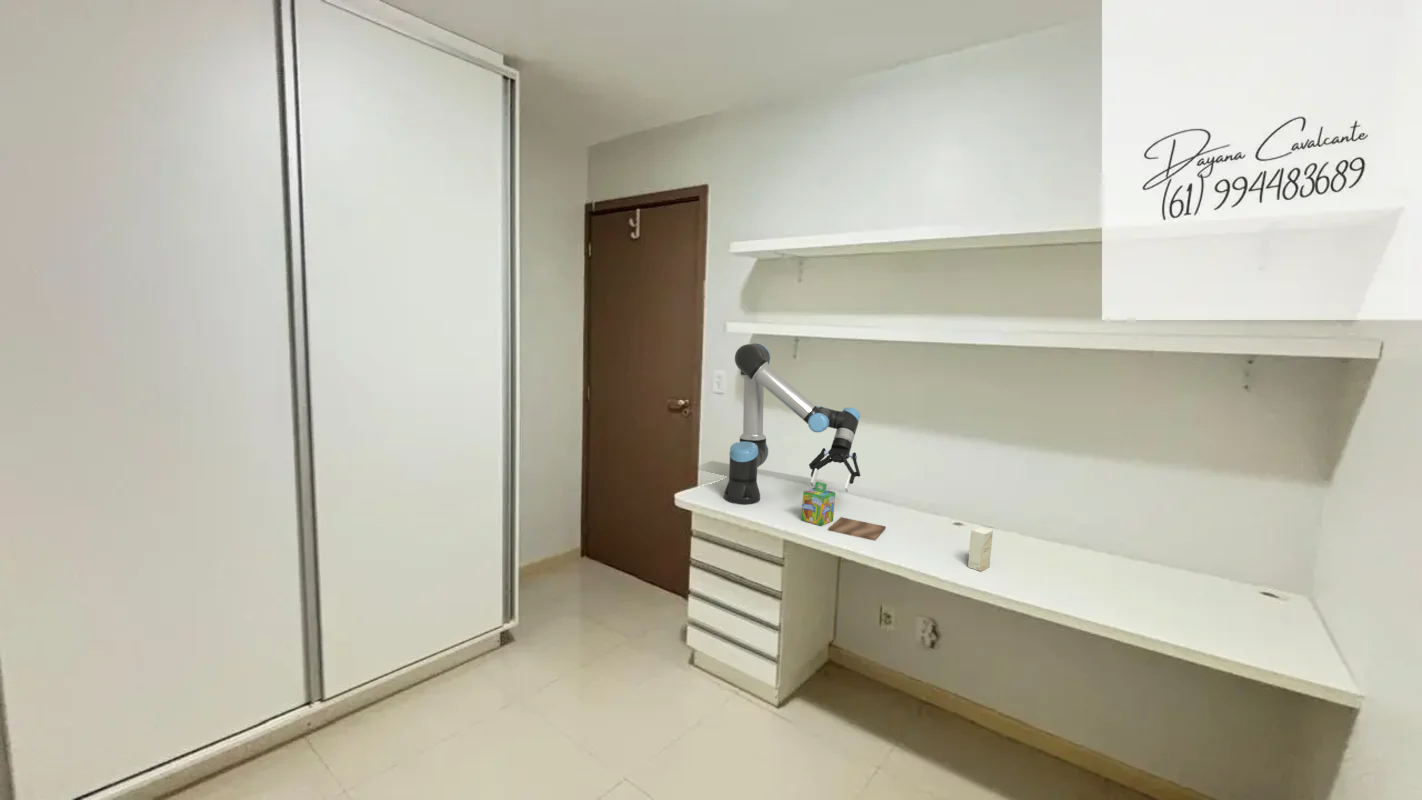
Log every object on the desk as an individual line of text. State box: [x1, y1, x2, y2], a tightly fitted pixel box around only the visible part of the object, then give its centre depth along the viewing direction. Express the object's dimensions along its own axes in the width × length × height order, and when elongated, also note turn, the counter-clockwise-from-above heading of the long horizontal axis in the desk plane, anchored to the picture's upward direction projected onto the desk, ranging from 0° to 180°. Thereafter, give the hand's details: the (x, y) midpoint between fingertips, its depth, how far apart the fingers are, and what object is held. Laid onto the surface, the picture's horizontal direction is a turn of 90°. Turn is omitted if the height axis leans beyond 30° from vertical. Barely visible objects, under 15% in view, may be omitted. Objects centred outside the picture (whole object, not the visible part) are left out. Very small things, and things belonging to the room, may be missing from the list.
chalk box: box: [800, 481, 836, 527], centre depth 222 cm, size 9×9×15 cm
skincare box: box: [967, 526, 994, 572], centre depth 184 cm, size 6×4×12 cm
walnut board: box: [828, 516, 887, 541], centre depth 215 cm, size 17×14×1 cm
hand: (829, 487), depth 225 cm, fingers open, 13 cm apart
